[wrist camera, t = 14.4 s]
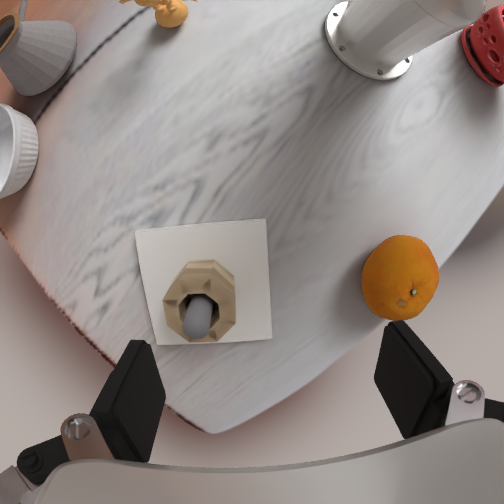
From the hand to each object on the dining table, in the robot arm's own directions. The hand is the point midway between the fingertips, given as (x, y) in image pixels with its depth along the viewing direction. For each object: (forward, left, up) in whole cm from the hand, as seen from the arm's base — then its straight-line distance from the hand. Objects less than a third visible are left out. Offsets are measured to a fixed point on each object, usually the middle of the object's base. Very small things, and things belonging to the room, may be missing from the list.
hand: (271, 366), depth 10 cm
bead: (+6, -5, -22) cm, 24 cm away
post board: (+6, -5, -24) cm, 25 cm away
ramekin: (-15, -32, -24) cm, 43 cm away
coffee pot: (-32, -24, -24) cm, 47 cm away
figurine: (-27, -7, -24) cm, 37 cm away
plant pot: (-29, +42, -24) cm, 56 cm away
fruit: (+6, +18, -24) cm, 31 cm away
